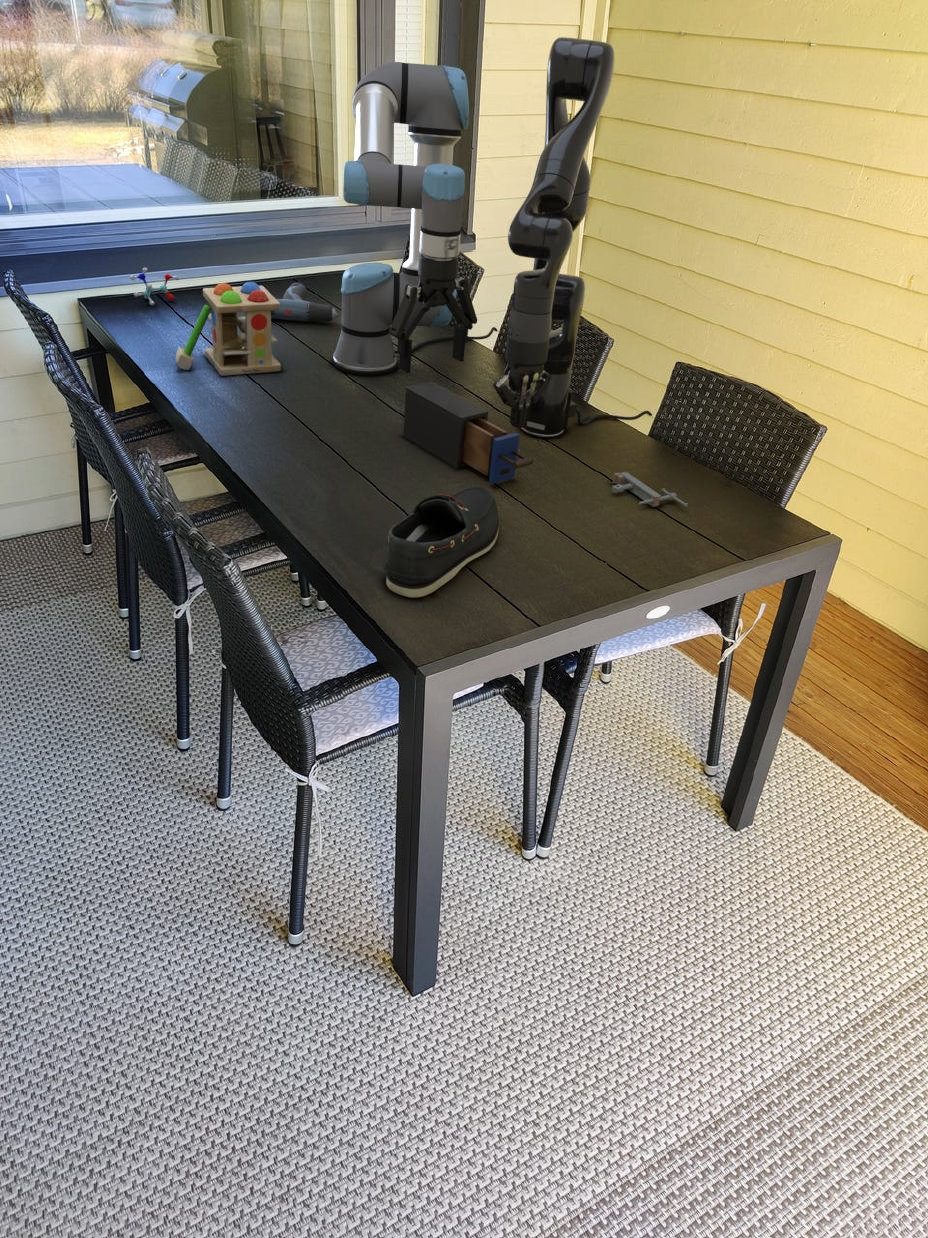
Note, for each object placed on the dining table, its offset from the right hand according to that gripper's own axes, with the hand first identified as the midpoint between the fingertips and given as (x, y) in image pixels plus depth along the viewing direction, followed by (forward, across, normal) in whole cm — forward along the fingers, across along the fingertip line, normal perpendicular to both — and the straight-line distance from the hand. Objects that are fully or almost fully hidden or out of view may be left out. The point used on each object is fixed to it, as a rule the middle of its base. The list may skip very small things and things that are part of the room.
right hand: (517, 425), depth 182 cm
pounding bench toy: (+13, -16, +83) cm, 85 cm away
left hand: (-3, 0, +26) cm, 26 cm away
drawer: (+12, 0, +8) cm, 14 cm away
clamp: (+13, +20, -17) cm, 29 cm away
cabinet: (+13, 0, +21) cm, 24 cm away
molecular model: (+13, -10, +134) cm, 135 cm away
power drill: (+13, +22, +108) cm, 111 cm away
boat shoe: (+13, -26, -12) cm, 32 cm away
